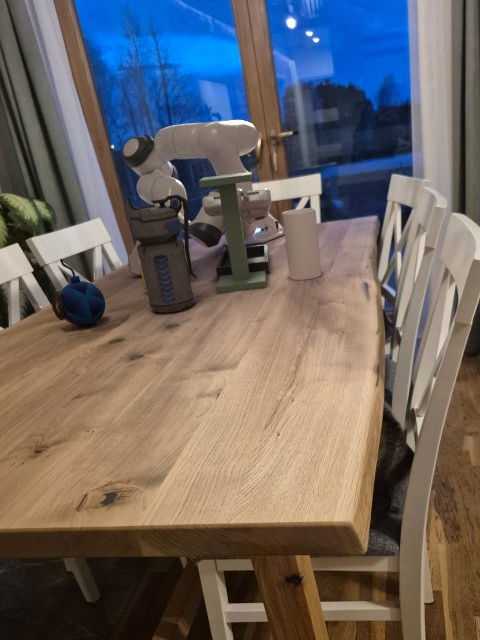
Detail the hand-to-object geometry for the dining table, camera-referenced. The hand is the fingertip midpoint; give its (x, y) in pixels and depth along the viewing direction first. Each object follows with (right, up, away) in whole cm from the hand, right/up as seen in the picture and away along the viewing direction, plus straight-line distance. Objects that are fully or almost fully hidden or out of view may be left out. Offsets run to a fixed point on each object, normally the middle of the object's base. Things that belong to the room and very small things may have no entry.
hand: (234, 190), depth 164 cm
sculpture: (-27, -20, +14) cm, 36 cm away
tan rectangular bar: (+1, -4, -4) cm, 6 cm away
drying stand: (+4, -30, -16) cm, 34 cm away
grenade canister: (-10, -38, -30) cm, 49 cm away
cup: (+20, -28, -16) cm, 37 cm away
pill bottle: (-19, -31, -13) cm, 38 cm away
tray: (+3, -21, +3) cm, 21 cm away
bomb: (-29, -43, -35) cm, 63 cm away
